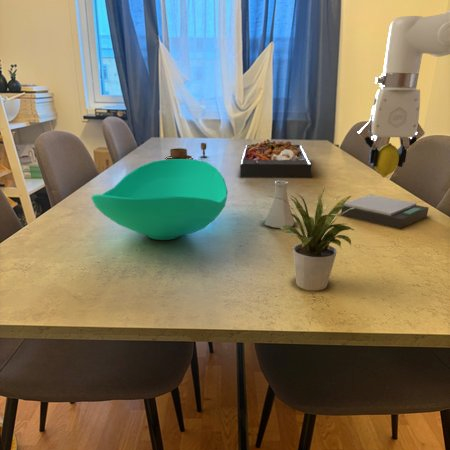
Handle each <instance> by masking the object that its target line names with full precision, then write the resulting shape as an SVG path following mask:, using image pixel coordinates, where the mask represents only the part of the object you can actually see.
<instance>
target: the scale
mask: <svg viewBox="0 0 450 450" xmlns="http://www.w3.org/2000/svg"><path fill="white" fill-rule="evenodd" d="M354 207H357V208H354ZM351 208H353V209H351ZM349 209H350V210H349ZM347 210H348V211H347ZM345 211H346V212H345ZM344 212H345V213H344ZM428 213H429V207H428V206H423V205H417V202H413V201H407V200H402V199H397V198H391V197H386V196H379V195H375V194H367V195H364V196H361V197H358V198H355V199H352V200H349V201H346V202H345V203H344V205H343V208H342V209H341V210H340V215H341V214H342V215H341V216H343V217H347V218H352V219H356V220H360V221H364V222H369V223H372V224H378V225H381V226H386V227H390V228H394V229H398V230H401V229H403V228H405V227H408V226H410V225H412V224H414V223H416V222H419V221H420V220H422V219H423V220H424V219H425V218H427V217H428Z"/></svg>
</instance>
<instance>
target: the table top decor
mask: <svg viewBox="0 0 450 450" xmlns="http://www.w3.org/2000/svg"><path fill="white" fill-rule="evenodd" d="M228 192H229V191H228V188H227V183H226V180H225V178H224V176H223V175H222V174H221V172H220V171H219V169H217V167H215V166H213V165H212V164H210V163H209V162H206V161H203V160H199V159H193V160H191V159H167V160H165V159H161V160H154V161H151V162H149V163H146V164H143V165H140V166H138V167H136V168H135V169H133V170H132V171H130V172H129V173H127V174H125V176H124V177H122V178H121V180H120V181H119V182H117V183H116V185H115V186H114V187H112V188H111V189H109V190H107V191H105V192H103V193H102V194H93V195H92V196H91V200H92V203H93V204H94V207H95V208H96V209H97V210H98V211H99V212H100V213H102V215H103V216H105V217H107V218H108V219H110V220H111V221H113V222H114V223H116V224H117V225H118V226H122V227H124V228H126V229H128V230H131V231H133V232H136V233H139V234H142V235H144V236H146V237H148V238H150V239H152V240H156V241H159V240H160V241H169V240H170V241H171V240H175V239H178V238H180V237H182V236H187V235H191V234H194V233H197V232H199V231H201V230H203V229H204V228H206V227H207V226H209V225H211V223H212V222H214V220H216V218H217V217H218V216H219V215H220V214H221V213H222V211H223V210H224V208H225V207H226V204H227V200H228V194H229V193H228Z"/></svg>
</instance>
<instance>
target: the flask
mask: <svg viewBox="0 0 450 450" xmlns="http://www.w3.org/2000/svg"><path fill="white" fill-rule="evenodd" d="M289 183H290V182H289V181H286V180H277V181H274V186H275V192H274V196H273V201H272V204H271V206H270V209H269V212H268V214H267V216H266V219H265V221H264V224H263V225H265V226H268V227H271V228H278V229H280V228H282V227H283V226H285V225H290V226H292V227H294V225H295V218H294V217H293V216H292V215H291V214H287V213H292V214H293V212H292V209H291V207H290V206H291V205H290V202H289V198H288V186H289ZM275 197H278V198H281V199H283V200H284V201H283V200H281V199H278V198H275ZM285 201H286V202H287V203H288V204H289V205H290V206H289V205H288V204H287V203H286V202H285Z"/></svg>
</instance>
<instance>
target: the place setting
mask: <svg viewBox="0 0 450 450" xmlns="http://www.w3.org/2000/svg"><path fill="white" fill-rule="evenodd" d="M200 150H201V151H202V156H200V158H202V159H204V158H208V156H206V150H207V142H201V143H200ZM169 152H170V155H167V156H165V157H164V160H165V159H166V158H167V157H172V158H167V159H191V160H194V156H193V155H188V149H187V148H184V147H183V148H182V147H180V148H179V147H177V148H176V147H175V148H170V150H169ZM167 159H166V160H167Z"/></svg>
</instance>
